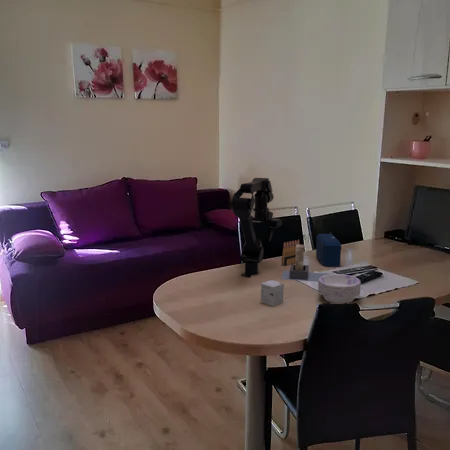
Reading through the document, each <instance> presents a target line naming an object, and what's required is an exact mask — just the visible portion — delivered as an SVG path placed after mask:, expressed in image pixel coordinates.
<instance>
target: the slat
mask: <svg viewBox="0 0 450 450" xmlns="http://www.w3.org/2000/svg"><path fill="white" fill-rule="evenodd" d="M304 252H305V245H304V244H300V245H299V244H297V246H296V262H295V264H294V265H295V270H301V271H303V265H304V257H305V256H304V255H305V253H304Z"/></svg>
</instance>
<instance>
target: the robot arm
mask: <svg viewBox="0 0 450 450" xmlns="http://www.w3.org/2000/svg"><path fill="white" fill-rule="evenodd" d="M254 193H255V194H254ZM243 194H251V197H242V196H243ZM274 197H275V196H274V193H273V188H272V183H271V181H270V178H269V177H253V179H252V180H251V181H250V182H245V183H241V185H240V186H239V189H238V190H237V191H236V192H235V193H234V194H233V195H232V199H231V202H230V207H231V210H232V212H233V215H235V217H237V218H238V219H239V223H240V226H241V231H242V234H243V238H244V245H243V247H242V251H241V255H240V256H239V257H240V262H244V272H243V273H241V276H243V277H249V278H251V277H252V276H253V275H257V274H259V264H260V263H262V262H263V258H264V251H265V249H264V247H263V243H262V239H261V237H260V238H259V237H257V236H256V232H255V228H254V224H255V223H256V224H265V225H268V227H267V238H268V242H271V241H272V238H273V235H274V233H275V231H276V229H278V228H279V227H281V226H283V221H282V219H281V218H274V212H272V211H270V208H269V207H268V204H269V203H271V202H272V201H273V200H274ZM252 212H254V213H253V214H254V216H252V215H251V214H252Z"/></svg>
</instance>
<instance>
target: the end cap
mask: <svg viewBox="0 0 450 450" xmlns="http://www.w3.org/2000/svg"><path fill="white" fill-rule="evenodd" d="M289 271H290V279H302V280H308V274H309V272H310V265H308V264H303V271H301V270H295V264H291V265H290V268H289Z"/></svg>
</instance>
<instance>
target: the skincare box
mask: <svg viewBox="0 0 450 450" xmlns="http://www.w3.org/2000/svg"><path fill="white" fill-rule="evenodd" d="M284 286H285V283H282V282H280V281H277V280H273V279H271V280H270V279H269V280H267V281H264V282H262V283H261V285H260V287H261V288H260V302H261V303H262V304H265V305H269V306H271V307H275V306H277V305H280V304H282V303H284V290H285V289H284Z"/></svg>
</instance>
